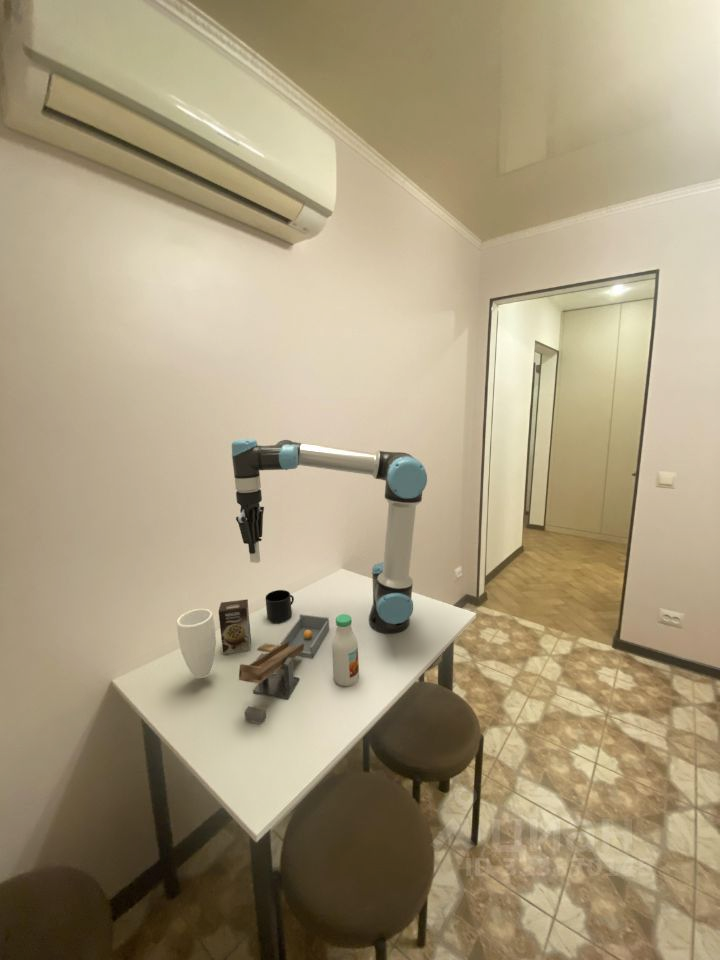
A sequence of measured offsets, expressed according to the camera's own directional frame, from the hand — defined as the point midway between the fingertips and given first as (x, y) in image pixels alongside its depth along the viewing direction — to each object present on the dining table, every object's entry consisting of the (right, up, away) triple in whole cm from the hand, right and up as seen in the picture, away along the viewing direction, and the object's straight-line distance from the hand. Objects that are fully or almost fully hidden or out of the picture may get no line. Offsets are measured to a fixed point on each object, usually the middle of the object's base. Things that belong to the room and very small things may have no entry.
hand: (255, 561), depth 124 cm
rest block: (+6, -37, -21) cm, 43 cm away
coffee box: (-8, -32, +9) cm, 34 cm away
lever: (+5, -28, -11) cm, 31 cm away
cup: (-14, -35, -7) cm, 38 cm away
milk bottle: (+30, -34, -7) cm, 45 cm away
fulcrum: (+9, -35, -10) cm, 37 cm away
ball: (+15, -28, +12) cm, 34 cm away
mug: (+3, -27, +28) cm, 40 cm away
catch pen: (+15, -30, +11) cm, 36 cm away
